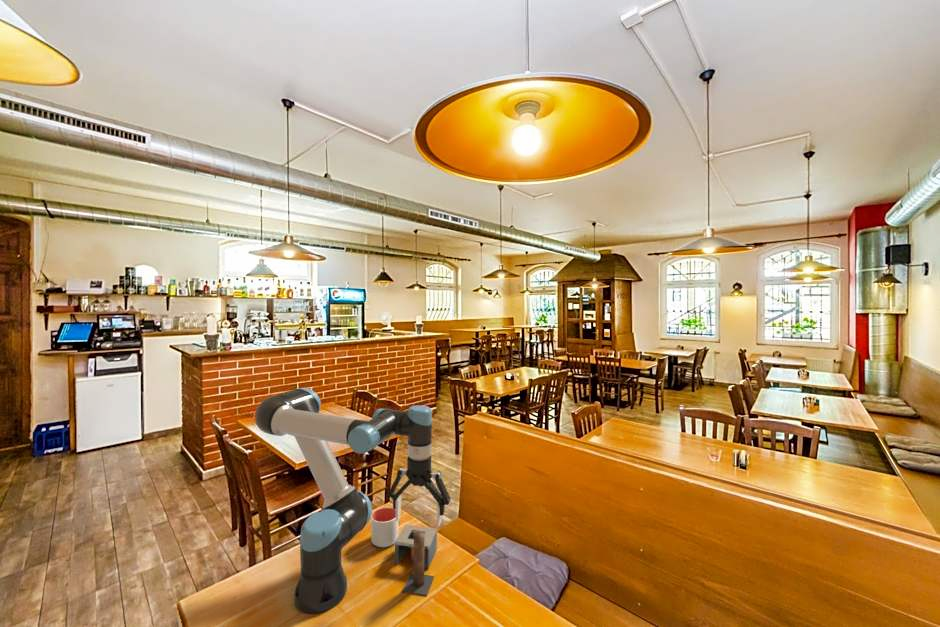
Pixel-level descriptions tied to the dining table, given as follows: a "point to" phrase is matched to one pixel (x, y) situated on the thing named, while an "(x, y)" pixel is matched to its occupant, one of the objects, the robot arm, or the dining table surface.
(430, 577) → the coaster
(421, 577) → the rod
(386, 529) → the cup
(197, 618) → the dining table surface
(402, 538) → the grey box with hole
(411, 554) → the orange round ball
